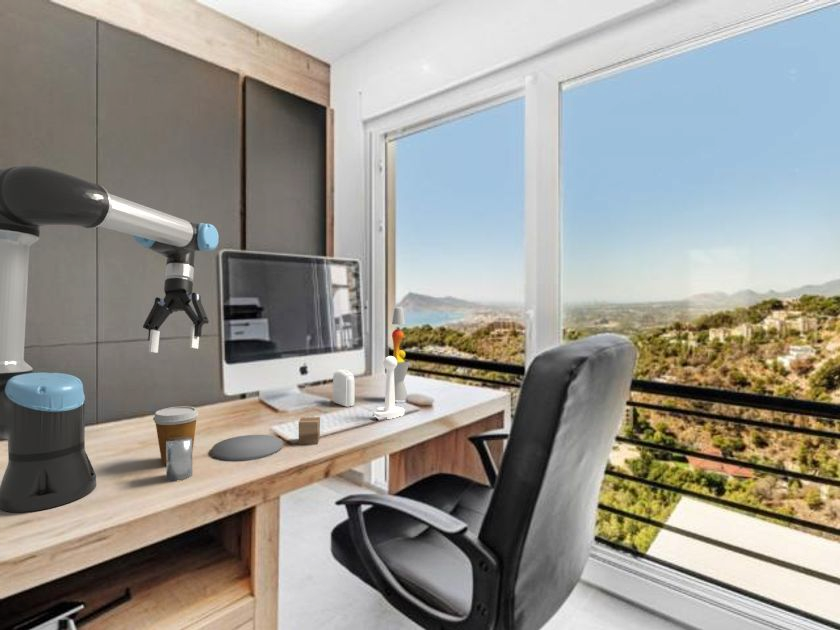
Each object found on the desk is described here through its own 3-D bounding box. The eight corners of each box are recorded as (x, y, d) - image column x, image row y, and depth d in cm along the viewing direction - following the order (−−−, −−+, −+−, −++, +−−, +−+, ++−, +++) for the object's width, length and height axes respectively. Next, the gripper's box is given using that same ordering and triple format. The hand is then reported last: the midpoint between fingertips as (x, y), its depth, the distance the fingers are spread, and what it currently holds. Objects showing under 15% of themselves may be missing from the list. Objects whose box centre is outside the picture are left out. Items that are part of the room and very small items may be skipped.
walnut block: (317, 444, 123) (317, 421, 123) (298, 444, 122) (298, 422, 122) (319, 438, 128) (319, 416, 127) (301, 438, 127) (301, 417, 127)
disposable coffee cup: (184, 451, 116) (183, 404, 115) (207, 458, 111) (207, 409, 110) (145, 463, 108) (144, 412, 107) (168, 471, 103) (168, 418, 102)
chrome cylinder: (180, 482, 97) (180, 444, 97) (161, 479, 98) (160, 442, 98) (197, 473, 102) (197, 437, 102) (178, 470, 103) (178, 435, 103)
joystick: (381, 421, 145) (381, 358, 144) (366, 417, 150) (366, 355, 149) (406, 415, 152) (407, 355, 151) (391, 411, 158) (392, 353, 157)
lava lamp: (398, 404, 167) (399, 308, 165) (380, 400, 172) (381, 307, 171) (414, 400, 174) (415, 307, 172) (396, 396, 179) (397, 306, 178)
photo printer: (331, 402, 169) (331, 368, 169) (341, 400, 172) (341, 367, 171) (345, 408, 161) (345, 372, 161) (356, 406, 164) (356, 371, 163)
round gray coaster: (258, 464, 108) (258, 459, 108) (196, 456, 112) (196, 452, 112) (295, 441, 124) (295, 437, 124) (240, 435, 129) (240, 432, 129)
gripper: (223, 279, 140) (219, 348, 135) (153, 289, 145) (146, 355, 140) (207, 271, 133) (202, 344, 128) (133, 281, 138) (126, 351, 133)
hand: (173, 350), depth 134 cm, fingers open, 13 cm apart
